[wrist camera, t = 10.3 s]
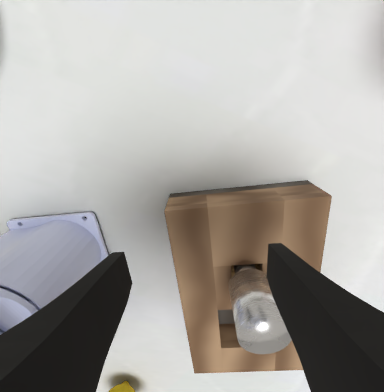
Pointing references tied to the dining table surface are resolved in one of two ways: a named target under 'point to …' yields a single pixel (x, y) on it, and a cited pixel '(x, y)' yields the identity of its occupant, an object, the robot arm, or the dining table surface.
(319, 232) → the keyhole board
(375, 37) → the dining table surface
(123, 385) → the lemon
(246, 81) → the dining table surface
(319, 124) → the dining table surface
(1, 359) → the robot arm
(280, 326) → the peg
